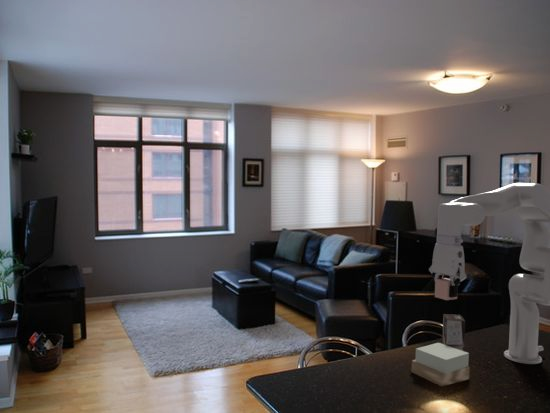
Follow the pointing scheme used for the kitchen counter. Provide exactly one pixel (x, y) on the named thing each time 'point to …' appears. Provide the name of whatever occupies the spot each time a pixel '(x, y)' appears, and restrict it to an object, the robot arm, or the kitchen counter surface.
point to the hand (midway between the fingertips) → (446, 294)
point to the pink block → (443, 289)
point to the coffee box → (453, 331)
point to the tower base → (440, 374)
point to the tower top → (442, 357)
